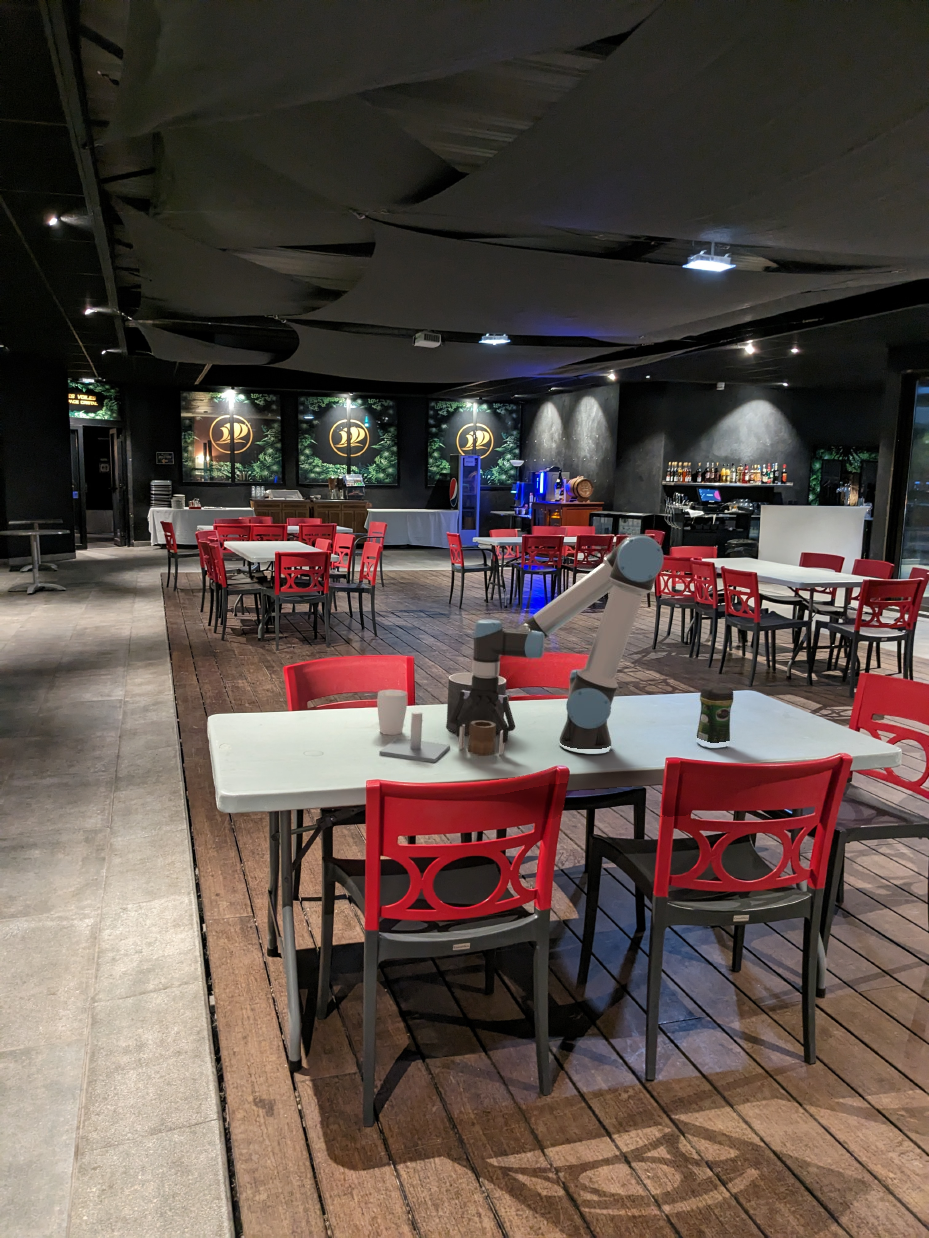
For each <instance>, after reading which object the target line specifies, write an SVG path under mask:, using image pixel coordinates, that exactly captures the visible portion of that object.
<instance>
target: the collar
mask: <svg viewBox="0 0 929 1238" xmlns="http://www.w3.org/2000/svg"><path fill="white" fill-rule="evenodd" d="M496 735H497V734H496V724H495V723H493V722H490V721H482V720H480V721H472V722H471V723H470V725H469V735H468V745H467V746H468V747H467V751H468V752H469V753H470V754H472V755H476V756H489V755H493V754H494V753H495V751H496V750H495V749H496Z"/></svg>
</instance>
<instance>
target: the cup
mask: <svg viewBox="0 0 929 1238" xmlns="http://www.w3.org/2000/svg"><path fill="white" fill-rule="evenodd" d="M376 705H377V706H376V707H377V717H378V723H379V724H378V725H379V732H380V733H381V734H384V735H387V736H389V735H391V736H392V735H393V736H396V735H400V734H402V733H403V729H404V723H405V719H406V713H407V708H408V692H407V691H404V690H401V689H383V690H379V691H377V700H376Z"/></svg>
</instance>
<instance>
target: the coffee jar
mask: <svg viewBox="0 0 929 1238" xmlns="http://www.w3.org/2000/svg"><path fill="white" fill-rule="evenodd" d="M699 701H700V714H699V722H698V727H697V732H696V736H697V738H699V739H701V740H704V741H707V742H710V743H719V742H726V741H730V740H731V711H732V705H733V703H734V690H733V688H731V687H729V686H726V685H711V686H709V685H708V686H702V687H701V689H700V695H699ZM730 742H731V741H730Z"/></svg>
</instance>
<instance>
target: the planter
mask: <svg viewBox="0 0 929 1238" xmlns="http://www.w3.org/2000/svg"><path fill="white" fill-rule="evenodd" d="M473 675H474V674H473V673H472V672H460V673H459V672H458V673H454V674H451V675H449V676H448V685H447V703H446V704H447V707H446V711H447V712H446V729H447V730H448V731H451V732H452V733H455V734H456V728H457V726H456V724H454V723H451V722H450V720H451V718H452V716H453V713H454V711H455V709H456V706H457V704H458V702H459V699H460V692H461V691H462V690H466V691H471V686H472V676H473ZM497 676H498V677H499V683H498V693H499V695H503V696H505V695H507V694H506V693H507V692H506V691H507V679H506V678H504V677H502V676H500V675H497ZM472 702H473V701H472V699H471V697H470V696H468V698H466V699H465V702H464V704H463V706H462V709H461V711H460V713H459V716H458V718H457V719H458V720H459V719H460V718H461V717H462V715H463V714H464V713H465V712H466V710H467V709H468V708H469V706H470V705H471V704H472ZM496 704H497V706H498V709H499V711H500V712H501V714H502V716H503V718H504V719H505V712H504V709H503V703H501V701H500V700H499V699H498V700H497V701H496ZM480 720H482V721H490V722H493V723H495V724H496V735H500V732H501V731H502V728H501V726H500V725H499V723H498V721H497V719H496V717H495V716H494V714H493V712H492V711H491V710H490V708H488V709H485V708H483V707H482V708H477V706H476V707H475V708H474V709H473V710H472V712H471V713H470V714H469V716H468V717H467V718H466V719H465V721H464V722H463V723H462V725H465V735H464V736H469V725H470V723H471V722H472V721H480Z"/></svg>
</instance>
